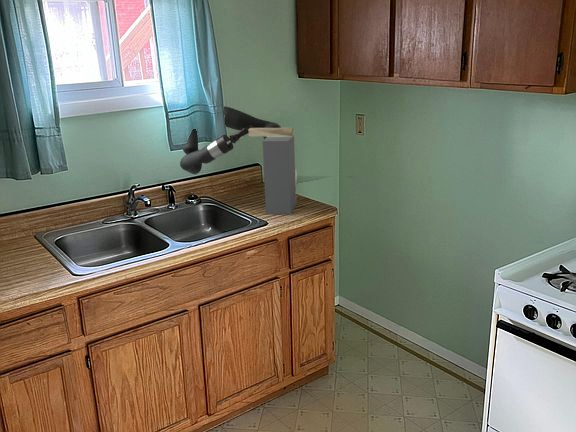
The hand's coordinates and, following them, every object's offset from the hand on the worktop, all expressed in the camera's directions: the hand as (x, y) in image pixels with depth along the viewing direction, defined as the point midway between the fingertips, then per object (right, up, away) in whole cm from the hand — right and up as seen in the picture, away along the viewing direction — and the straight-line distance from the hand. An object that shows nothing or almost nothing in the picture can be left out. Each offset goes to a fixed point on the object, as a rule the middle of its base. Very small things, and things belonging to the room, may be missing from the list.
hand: (250, 128), depth 257 cm
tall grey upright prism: (+14, -35, +5) cm, 38 cm away
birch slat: (+9, -3, -1) cm, 10 cm away
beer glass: (+18, -31, +19) cm, 40 cm away
